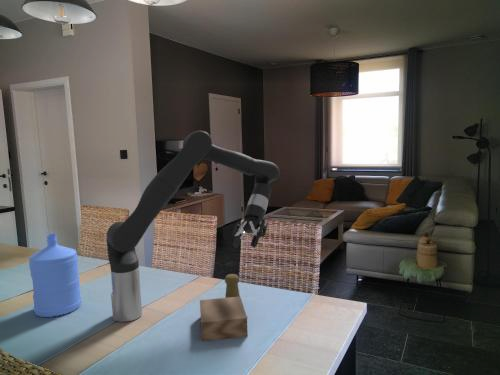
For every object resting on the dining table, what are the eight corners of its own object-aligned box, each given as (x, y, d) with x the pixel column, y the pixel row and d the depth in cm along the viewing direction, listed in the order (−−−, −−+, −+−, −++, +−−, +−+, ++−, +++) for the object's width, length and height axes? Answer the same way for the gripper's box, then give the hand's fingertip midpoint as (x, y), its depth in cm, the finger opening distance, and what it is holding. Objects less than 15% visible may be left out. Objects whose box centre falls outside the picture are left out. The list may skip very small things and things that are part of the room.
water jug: (91, 303, 141) (84, 231, 138) (54, 321, 127) (46, 242, 123) (62, 297, 148) (56, 228, 144) (24, 314, 134) (16, 238, 130)
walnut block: (201, 341, 112) (200, 322, 111) (200, 316, 127) (199, 300, 127) (247, 336, 114) (247, 317, 113) (240, 312, 129) (240, 296, 129)
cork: (238, 307, 133) (237, 278, 132) (222, 306, 135) (221, 277, 133) (242, 300, 139) (241, 272, 138) (227, 299, 140) (226, 271, 139)
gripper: (237, 205, 144) (223, 242, 137) (265, 201, 135) (252, 241, 127) (248, 214, 149) (236, 251, 141) (276, 212, 140) (265, 251, 132)
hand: (244, 246), depth 134 cm, fingers open, 8 cm apart
